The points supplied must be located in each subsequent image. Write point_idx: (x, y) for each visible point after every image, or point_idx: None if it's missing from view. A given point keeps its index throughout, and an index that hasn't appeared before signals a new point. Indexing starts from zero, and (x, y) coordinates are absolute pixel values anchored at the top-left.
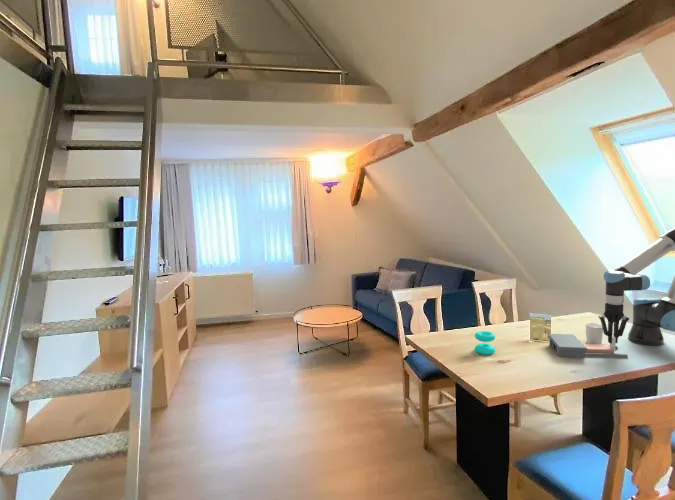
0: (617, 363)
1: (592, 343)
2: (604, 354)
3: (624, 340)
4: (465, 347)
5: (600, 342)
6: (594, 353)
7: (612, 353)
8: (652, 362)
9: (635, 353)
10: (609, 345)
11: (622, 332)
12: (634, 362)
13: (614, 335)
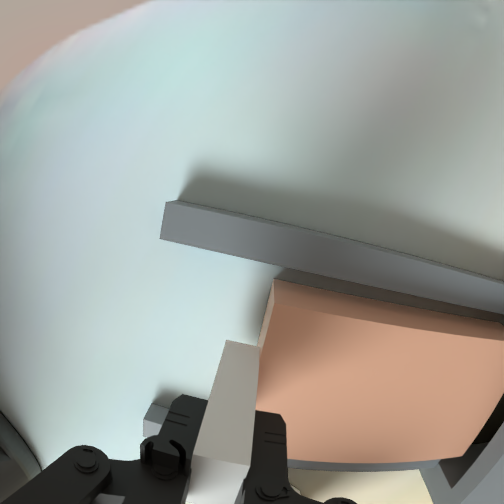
0: (371, 77)
1: None
2: (404, 256)
3: None
4: None
5: None
6: (473, 285)
7: (310, 266)
8: (55, 91)
9: (61, 299)
10: None
11: (43, 487)
12: (191, 81)
13: (186, 496)
